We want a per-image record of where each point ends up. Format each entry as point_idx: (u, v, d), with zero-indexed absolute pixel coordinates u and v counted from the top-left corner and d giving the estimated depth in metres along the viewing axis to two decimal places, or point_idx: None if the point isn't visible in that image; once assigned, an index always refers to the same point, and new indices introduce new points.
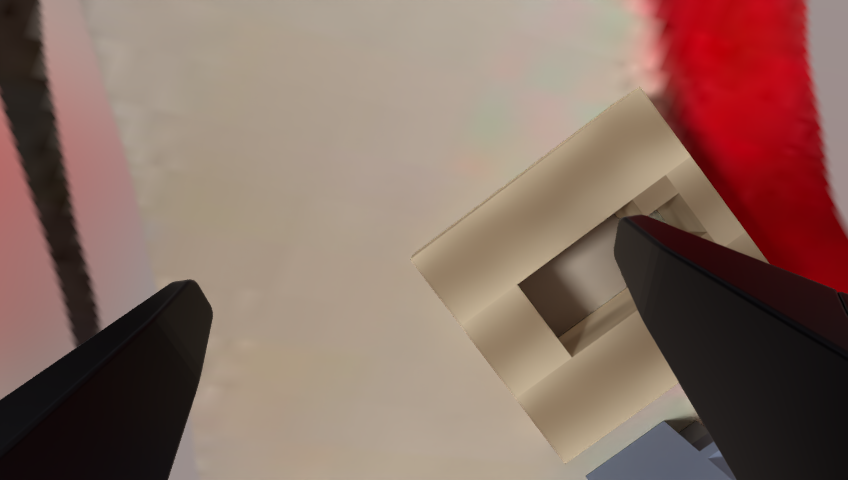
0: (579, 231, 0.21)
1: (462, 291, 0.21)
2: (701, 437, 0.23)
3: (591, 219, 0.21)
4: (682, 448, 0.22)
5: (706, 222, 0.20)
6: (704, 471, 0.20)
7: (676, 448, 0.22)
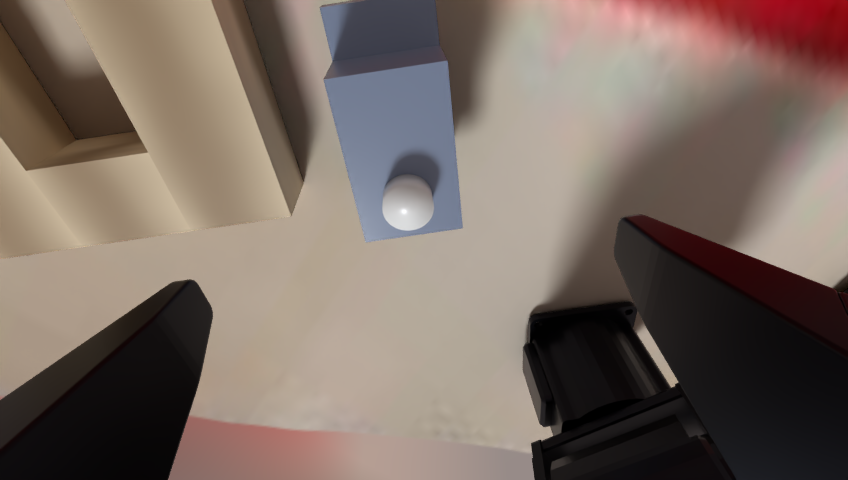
0: None
1: (33, 230, 0.17)
2: None
3: None
4: None
5: None
6: None
7: None
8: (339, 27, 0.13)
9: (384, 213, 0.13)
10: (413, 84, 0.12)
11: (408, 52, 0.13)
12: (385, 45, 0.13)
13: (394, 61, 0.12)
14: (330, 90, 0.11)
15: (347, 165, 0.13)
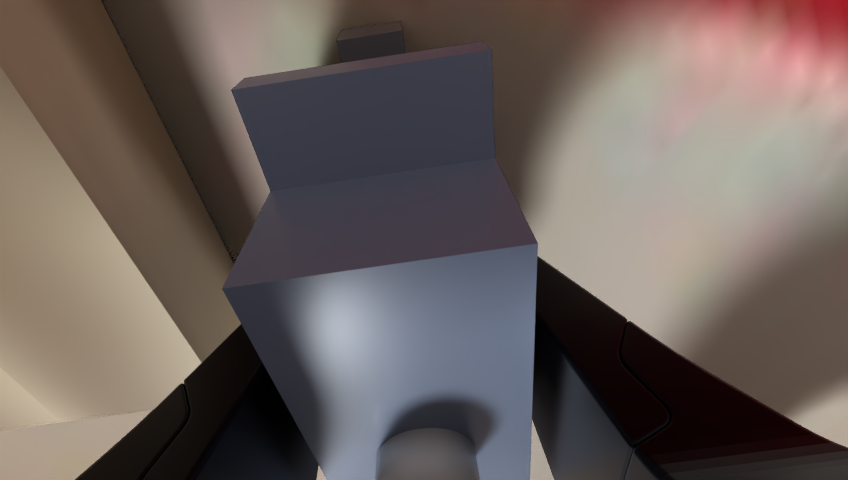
0: None
1: None
2: None
3: None
4: None
5: None
6: None
7: None
8: (279, 128, 0.06)
9: None
10: (447, 290, 0.05)
11: (430, 182, 0.06)
12: (380, 160, 0.06)
13: (400, 219, 0.05)
14: (242, 307, 0.05)
15: (298, 422, 0.06)
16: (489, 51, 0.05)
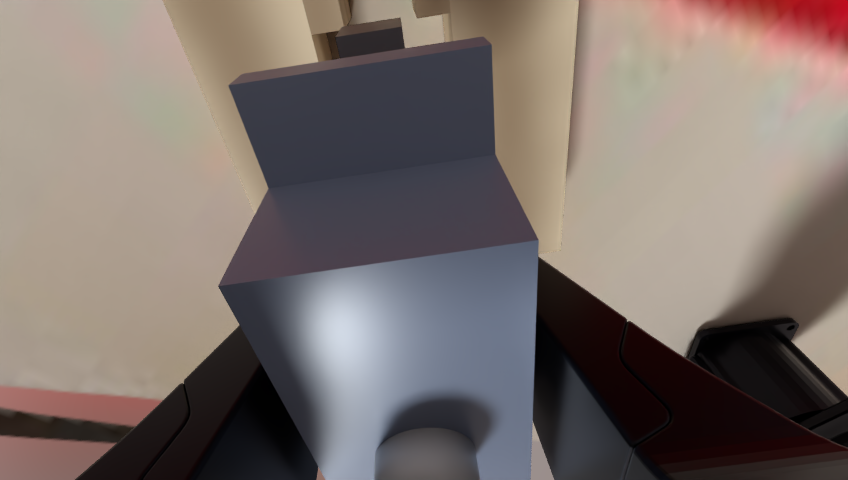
0: None
1: None
2: None
3: None
4: None
5: None
6: None
7: None
8: (277, 125, 0.06)
9: None
10: (447, 287, 0.05)
11: (430, 179, 0.06)
12: (379, 157, 0.06)
13: (399, 216, 0.05)
14: (239, 306, 0.05)
15: (297, 421, 0.06)
16: (489, 46, 0.05)
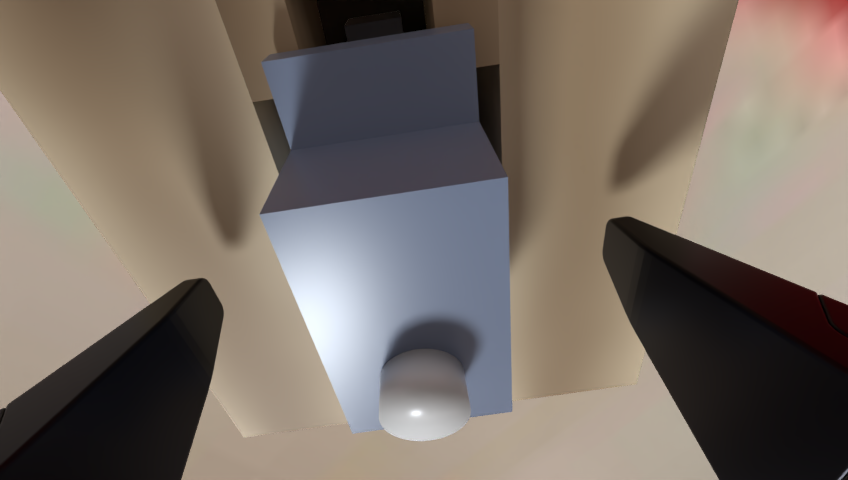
0: None
1: (319, 407, 0.13)
2: None
3: None
4: None
5: None
6: None
7: None
8: (299, 96, 0.07)
9: (382, 423, 0.07)
10: (437, 217, 0.06)
11: (425, 139, 0.07)
12: (382, 124, 0.07)
13: (400, 165, 0.06)
14: (273, 232, 0.06)
15: (316, 340, 0.07)
16: (472, 29, 0.07)
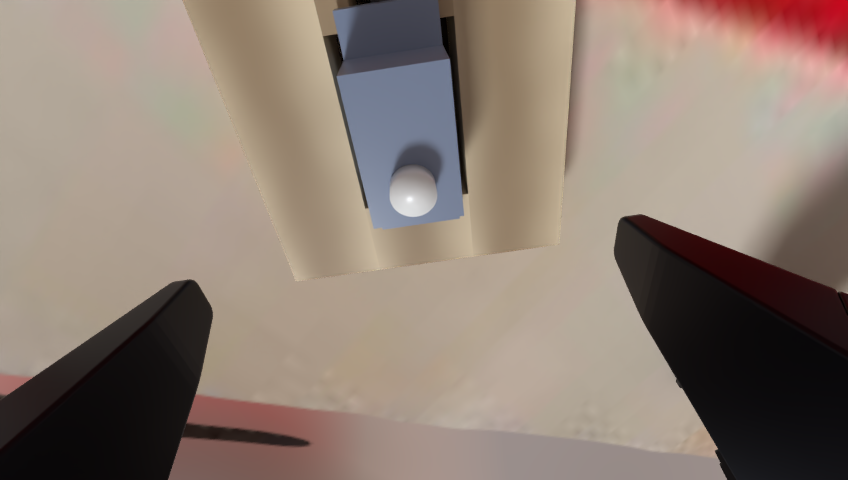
0: (336, 120, 0.16)
1: (347, 255, 0.20)
2: None
3: (327, 100, 0.16)
4: None
5: None
6: None
7: None
8: (350, 29, 0.14)
9: (391, 200, 0.14)
10: (418, 80, 0.13)
11: (413, 51, 0.14)
12: (392, 45, 0.14)
13: (401, 59, 0.13)
14: (342, 86, 0.13)
15: (357, 156, 0.14)
16: None
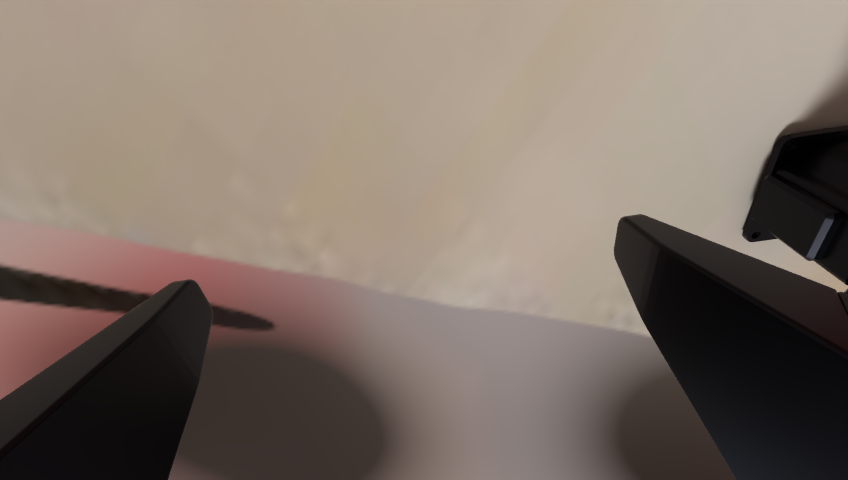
0: None
1: None
2: None
3: None
4: None
5: None
6: None
7: None
8: None
9: None
10: None
11: None
12: None
13: None
14: None
15: None
16: None
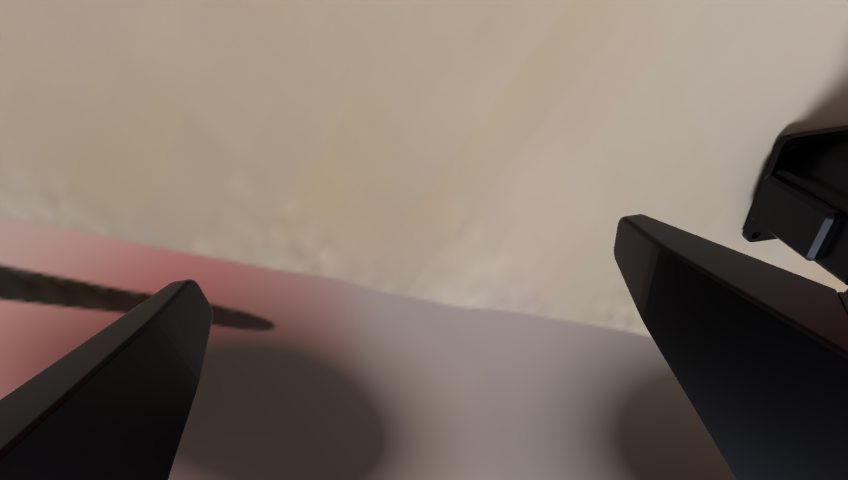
0: None
1: None
2: None
3: None
4: None
5: None
6: None
7: None
8: None
9: None
10: None
11: None
12: None
13: None
14: None
15: None
16: None
